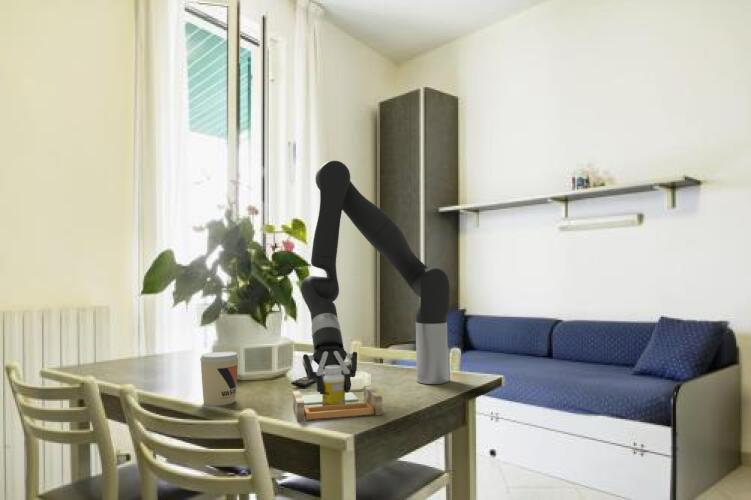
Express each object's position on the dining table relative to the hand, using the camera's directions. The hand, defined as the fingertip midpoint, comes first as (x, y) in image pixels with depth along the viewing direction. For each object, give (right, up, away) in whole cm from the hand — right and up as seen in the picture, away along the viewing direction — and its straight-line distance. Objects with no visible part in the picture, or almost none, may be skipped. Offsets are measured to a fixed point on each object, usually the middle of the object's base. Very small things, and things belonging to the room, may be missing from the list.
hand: (334, 391), depth 122 cm
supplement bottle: (0, -4, +2) cm, 5 cm away
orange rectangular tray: (+1, -4, -5) cm, 6 cm away
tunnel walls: (0, -4, -2) cm, 5 cm away
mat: (-3, -5, +10) cm, 12 cm away
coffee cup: (-30, -5, +9) cm, 32 cm away
